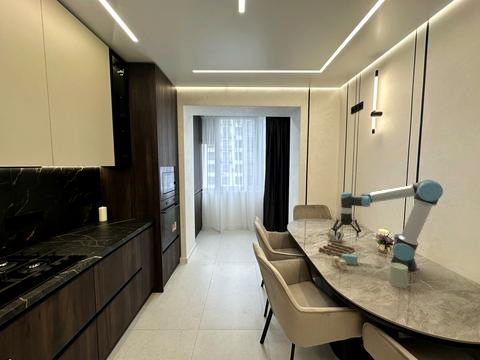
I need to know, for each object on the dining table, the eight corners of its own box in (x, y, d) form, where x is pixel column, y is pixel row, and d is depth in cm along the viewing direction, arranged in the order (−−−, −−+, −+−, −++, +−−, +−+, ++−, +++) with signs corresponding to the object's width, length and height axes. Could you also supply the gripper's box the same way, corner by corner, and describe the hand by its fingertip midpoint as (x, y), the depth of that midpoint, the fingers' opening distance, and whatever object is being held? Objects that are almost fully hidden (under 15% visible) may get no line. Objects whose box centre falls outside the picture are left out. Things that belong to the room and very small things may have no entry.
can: (390, 278, 144) (390, 260, 143) (408, 283, 138) (408, 264, 137) (388, 284, 137) (389, 265, 136) (407, 289, 131) (407, 269, 130)
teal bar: (356, 262, 169) (356, 255, 168) (357, 265, 165) (357, 257, 164) (342, 261, 172) (342, 253, 172) (342, 263, 168) (342, 255, 168)
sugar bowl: (348, 244, 208) (348, 228, 208) (332, 244, 208) (332, 228, 207) (338, 237, 228) (338, 222, 227) (323, 237, 228) (324, 223, 227)
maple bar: (346, 269, 158) (346, 261, 158) (342, 270, 157) (342, 262, 157) (336, 263, 168) (336, 255, 167) (331, 264, 167) (331, 256, 166)
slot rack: (354, 250, 192) (354, 247, 191) (341, 258, 177) (341, 254, 176) (332, 244, 207) (332, 241, 207) (318, 251, 192) (318, 248, 192)
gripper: (363, 212, 170) (363, 239, 171) (328, 211, 177) (328, 237, 178) (366, 214, 163) (365, 243, 164) (329, 213, 170) (329, 240, 171)
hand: (346, 240), depth 171 cm, fingers open, 13 cm apart
